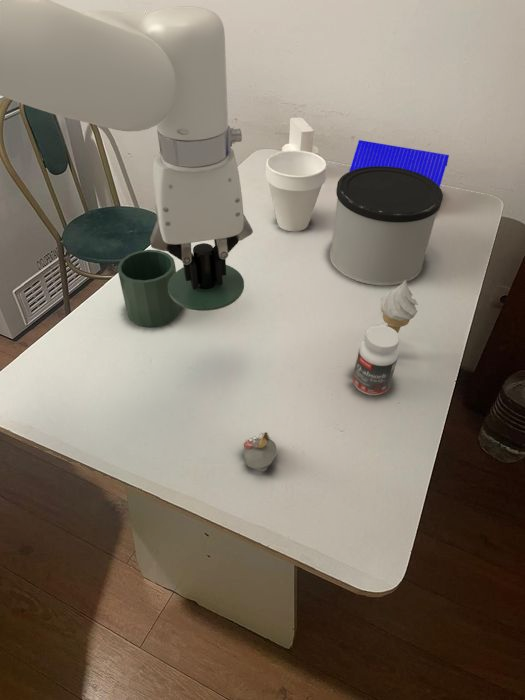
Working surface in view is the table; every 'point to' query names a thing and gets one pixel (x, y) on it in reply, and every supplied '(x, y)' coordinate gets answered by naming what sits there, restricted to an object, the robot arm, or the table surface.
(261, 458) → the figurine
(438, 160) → the blue corrugated sheet
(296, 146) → the cylinder with rectangular tab
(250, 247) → the table surface
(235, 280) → the trash can lid
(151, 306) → the trash can
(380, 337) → the pill bottle
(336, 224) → the container
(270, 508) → the table surface
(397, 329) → the ice cream cone
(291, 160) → the cup
